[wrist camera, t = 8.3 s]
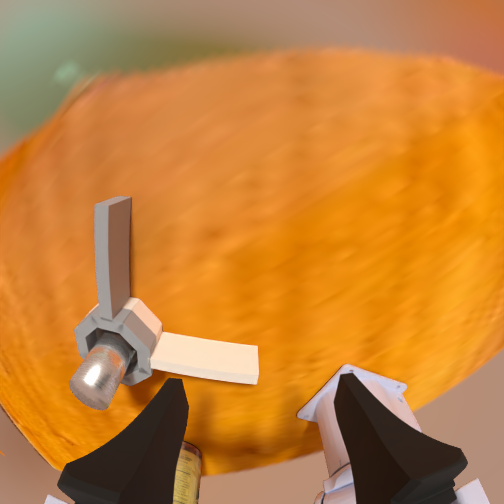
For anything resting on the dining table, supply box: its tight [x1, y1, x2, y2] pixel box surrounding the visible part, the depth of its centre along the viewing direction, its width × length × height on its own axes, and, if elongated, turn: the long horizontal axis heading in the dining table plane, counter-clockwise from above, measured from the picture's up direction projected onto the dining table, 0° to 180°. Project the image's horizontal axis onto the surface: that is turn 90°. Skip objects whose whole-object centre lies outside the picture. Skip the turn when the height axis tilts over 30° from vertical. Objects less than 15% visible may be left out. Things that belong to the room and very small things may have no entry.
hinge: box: [74, 196, 259, 386], centre depth 19 cm, size 14×14×4 cm
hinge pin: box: [69, 330, 136, 410], centre depth 18 cm, size 3×3×8 cm
